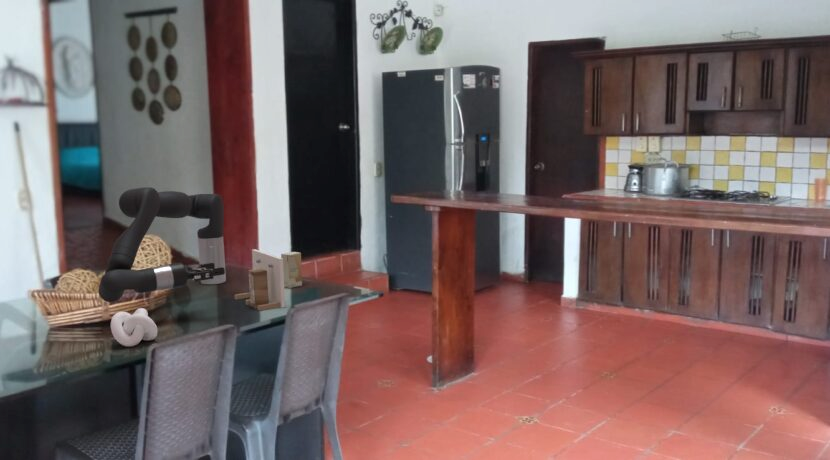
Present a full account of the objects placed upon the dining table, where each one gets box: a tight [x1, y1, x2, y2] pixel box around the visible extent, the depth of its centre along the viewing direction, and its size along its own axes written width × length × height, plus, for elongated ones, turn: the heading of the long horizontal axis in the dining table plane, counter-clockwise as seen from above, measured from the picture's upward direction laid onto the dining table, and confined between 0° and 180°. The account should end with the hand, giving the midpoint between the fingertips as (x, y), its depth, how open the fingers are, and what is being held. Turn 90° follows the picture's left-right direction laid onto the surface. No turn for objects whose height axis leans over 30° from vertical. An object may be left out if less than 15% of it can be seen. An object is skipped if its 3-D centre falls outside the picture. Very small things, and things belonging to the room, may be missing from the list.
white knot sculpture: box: [110, 307, 159, 348], centre depth 215 cm, size 11×12×9 cm
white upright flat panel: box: [234, 248, 286, 312], centre depth 255 cm, size 22×9×16 cm, turn 35°
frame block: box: [248, 269, 270, 310], centre depth 251 cm, size 4×5×12 cm
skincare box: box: [280, 251, 303, 289], centre depth 279 cm, size 6×4×12 cm
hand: (219, 268), depth 244 cm, fingers open, 8 cm apart
